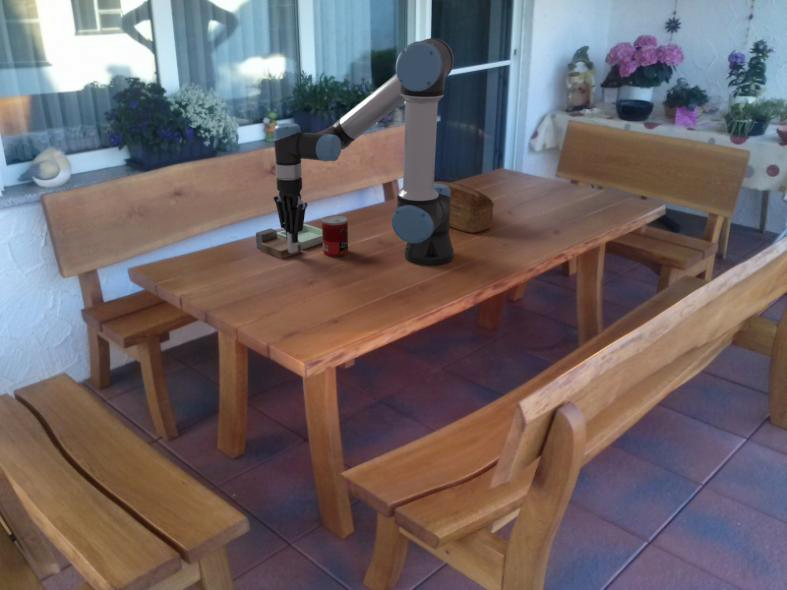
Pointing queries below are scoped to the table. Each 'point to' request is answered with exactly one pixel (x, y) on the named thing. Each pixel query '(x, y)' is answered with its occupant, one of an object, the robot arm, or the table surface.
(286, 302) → the table surface
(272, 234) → the bench dog
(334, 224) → the canned food
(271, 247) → the tan block
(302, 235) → the tray
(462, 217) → the bread
